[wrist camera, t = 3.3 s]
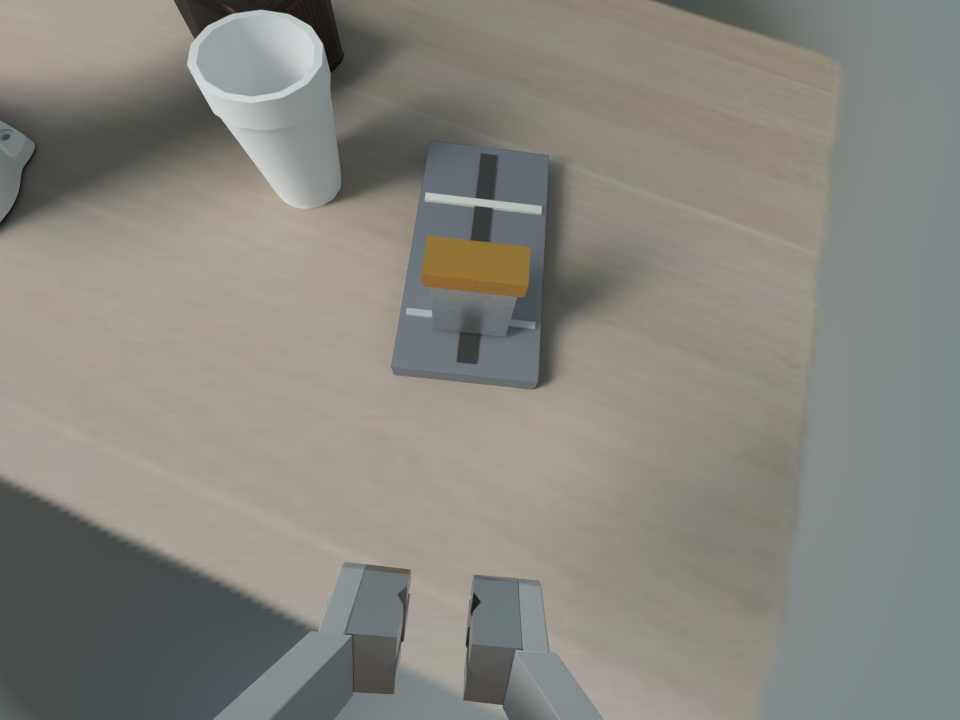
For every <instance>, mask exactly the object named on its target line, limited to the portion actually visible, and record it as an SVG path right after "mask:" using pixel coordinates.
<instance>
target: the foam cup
mask: <svg viewBox="0 0 960 720" xmlns="http://www.w3.org/2000/svg"><path fill="white" fill-rule="evenodd" d="M187 66H188V68H189V70H190V72H191V73H192V75H193V77H194V79H195V81H196V83H197V85H198V86H199V88H200V90H201V92H202V93H203V95H204V97H205V99H206V100H207V102H208V104H209V106H210V107H211V109H212V111H213V113H214V114H215V115H217V116H219V117H220V118H221V119H222V121H223V122H224V123H225V125H226V126H227V127H228V129H229V130H230V131H231V133H232V134H233V135H234V137H235V138H236V139H237V141H238V142H239V143H240V145H241V146H242V147H243V149H244V150H245V151H246V153H247V154H248V155H249V157H250V158H251V159H252V161H253V162H254V163H255V165H256V166H257V167H258V169H259V170H260V171H261V173H262V174H263V175H264V177H265V178H266V179H267V181H268V182H269V183H270V185H271V186H272V187H273V189H274V190H275V191H276V193H277V194H278V195H279V196H280V197H281V199H282V200H283V201H285V202H286V203H288V204H289V205H291V206H293V207H297V208H303V209H311V208H316V207H321V206H323V205H325V204H327V203H328V202H330V201H331V200H333V199H334V198H335V197H336V195H337V193H338V192H339V190H340V188H341V170H340V162H339V154H338V147H337V139H336V131H335V123H334V116H333V108H332V100H331V92H330V80H331V73H330V69H329V65H328V62H327V58H326V54H325V50H324V46H323V43H322V42H321V40H320V39H319V37H318V36H317V34H316V33H315V31H314V30H313V28H312V27H311V26H310V25H308V24H306V23H304V22H303V21H301V20H299V19H297V18H295V17H293V16H292V15H290V14H285V13H279V12H272V11H266V10H256V11H249V12H242V13H235V14H231V15H229V16H227V17H225V18H222V19H220V20H218V21H216V22H214V23H212V24H210V25H208V26H207V27H206V28H205V29H204V30H203V31H202V32H201V33H200V34H199V35H198V37H197V38H196V39H195V40H194V41H193V42H192V43H191V45H190V51H189V57H188V62H187Z"/></svg>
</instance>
